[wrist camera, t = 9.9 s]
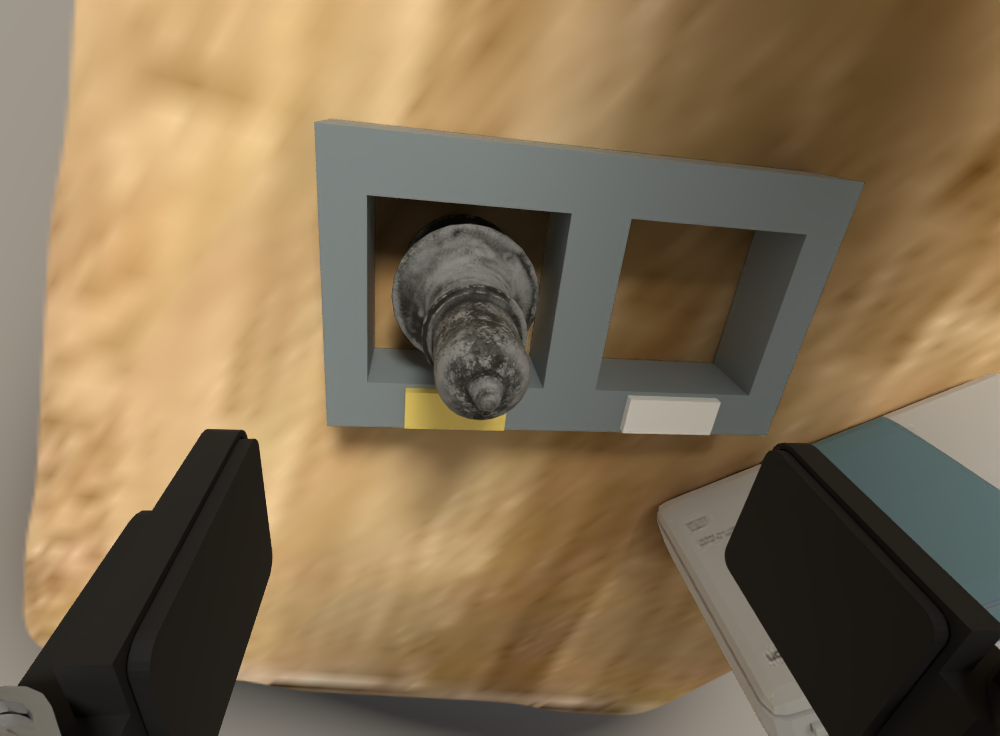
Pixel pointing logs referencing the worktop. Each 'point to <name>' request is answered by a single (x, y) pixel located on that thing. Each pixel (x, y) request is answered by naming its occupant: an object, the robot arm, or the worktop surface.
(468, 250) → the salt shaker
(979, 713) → the robot arm
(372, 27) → the worktop surface
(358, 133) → the socket board
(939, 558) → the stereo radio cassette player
